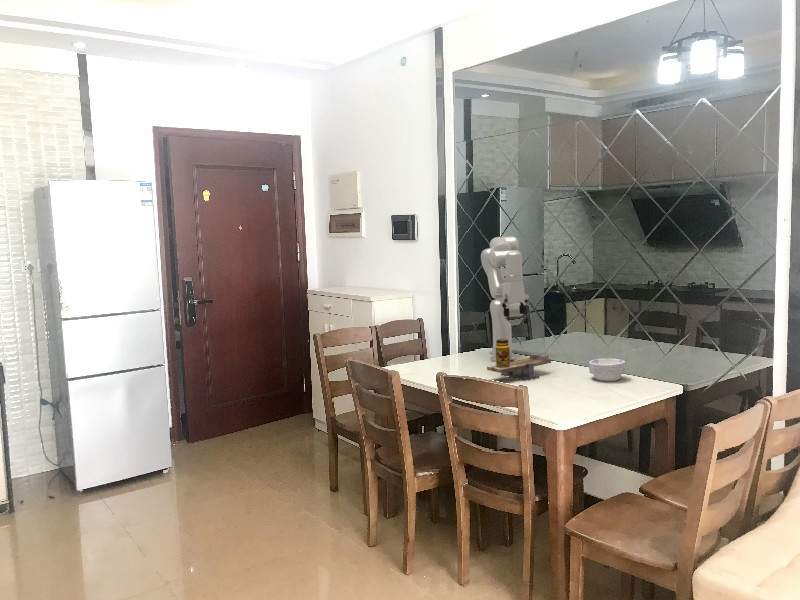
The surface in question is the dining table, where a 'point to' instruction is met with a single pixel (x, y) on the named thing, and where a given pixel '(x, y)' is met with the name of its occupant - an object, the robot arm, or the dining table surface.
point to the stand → (523, 372)
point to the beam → (523, 363)
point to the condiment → (502, 354)
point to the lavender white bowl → (607, 369)
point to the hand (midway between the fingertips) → (514, 315)
